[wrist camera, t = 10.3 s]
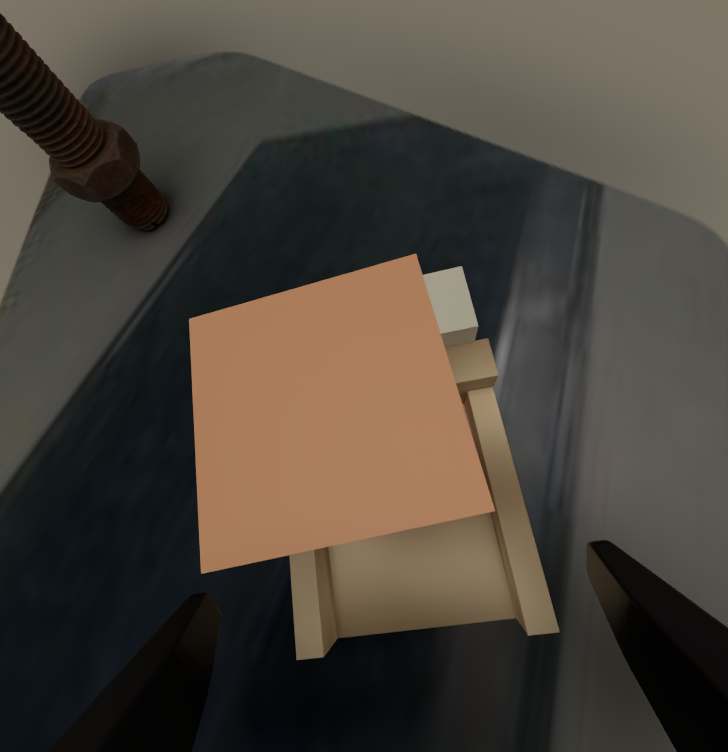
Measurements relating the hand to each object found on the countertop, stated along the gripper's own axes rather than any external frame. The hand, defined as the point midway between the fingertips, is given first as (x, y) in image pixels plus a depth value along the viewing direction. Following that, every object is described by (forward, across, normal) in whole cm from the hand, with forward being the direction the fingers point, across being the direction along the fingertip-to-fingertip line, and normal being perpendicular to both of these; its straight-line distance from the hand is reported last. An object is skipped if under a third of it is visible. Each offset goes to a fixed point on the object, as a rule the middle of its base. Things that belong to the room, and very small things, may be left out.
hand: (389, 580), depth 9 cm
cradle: (+8, 0, +4) cm, 9 cm away
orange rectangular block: (+8, 0, +3) cm, 8 cm away
